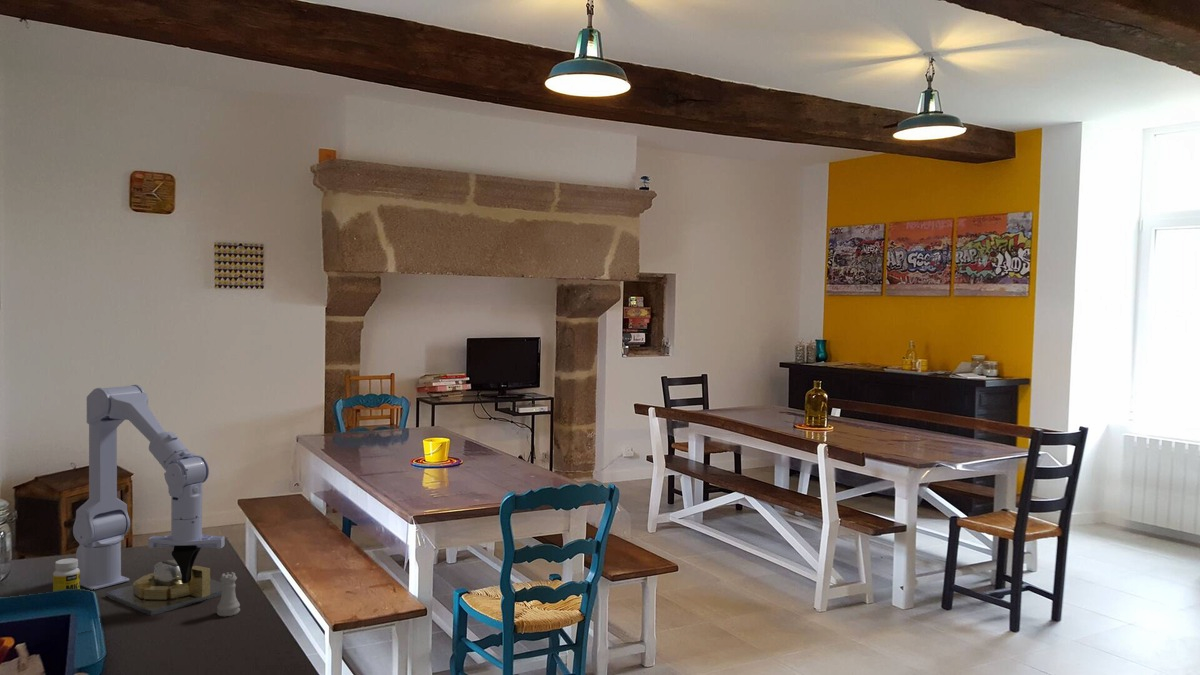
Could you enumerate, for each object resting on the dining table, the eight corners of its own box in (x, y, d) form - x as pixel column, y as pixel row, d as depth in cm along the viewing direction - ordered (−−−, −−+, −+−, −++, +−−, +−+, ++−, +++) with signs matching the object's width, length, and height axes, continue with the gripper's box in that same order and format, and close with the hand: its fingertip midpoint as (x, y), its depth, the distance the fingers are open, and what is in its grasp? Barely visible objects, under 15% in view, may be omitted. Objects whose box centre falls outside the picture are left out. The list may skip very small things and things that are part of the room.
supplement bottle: (67, 606, 177) (66, 565, 177) (47, 604, 178) (47, 563, 177) (85, 598, 182) (85, 558, 181) (66, 596, 183) (65, 556, 182)
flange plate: (105, 596, 183) (105, 565, 182) (187, 575, 198) (187, 546, 197) (151, 615, 173) (151, 582, 172) (234, 591, 187) (234, 561, 187)
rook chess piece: (245, 611, 176) (245, 572, 176) (227, 618, 172) (227, 578, 172) (229, 607, 178) (229, 569, 177) (211, 615, 174) (211, 575, 173)
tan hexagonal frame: (154, 608, 173) (154, 580, 173) (126, 587, 185) (125, 561, 185) (221, 593, 183) (221, 566, 182) (190, 574, 194) (190, 549, 194)
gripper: (230, 511, 183) (229, 575, 184) (158, 511, 182) (158, 575, 183) (217, 520, 176) (217, 586, 177) (143, 520, 175) (143, 586, 176)
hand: (186, 581), depth 179 cm, fingers closed, pressing on tan hexagonal frame
